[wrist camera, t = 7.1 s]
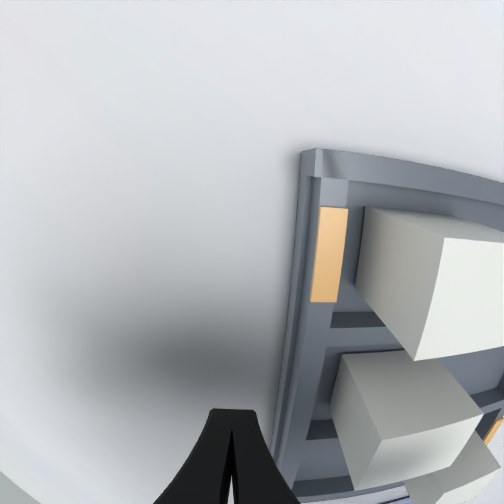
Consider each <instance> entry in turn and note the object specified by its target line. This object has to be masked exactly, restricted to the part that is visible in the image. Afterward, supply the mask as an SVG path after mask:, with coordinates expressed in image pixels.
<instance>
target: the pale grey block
mask: <svg viewBox="0 0 504 504" xmlns="http://www.w3.org/2000/svg"><path fill="white" fill-rule="evenodd" d="M500 468H501V466H500V465H499V463H498V462H497V461H496V459H495V458H494V456H493V455H492V453H491V452H490V450H489V449H488V448H487V446H486V445H485V443H484V442H483V441H482V439H481V438H480V436H479V435H478V434H477V432H476V431H475V430H474V432H473V433H472V435H471V436H470V438H469V440H468V441H467V443H466V444H465V446H464V447H463V449H462V450H461V452H460V453H459V455H458V456H457V457H456V459H455V460H454V462H453V463H452V464H451V466H449V467H446V468H443V469H440V470H437V471H434V472H431V473H428V474H425V475H421V476H418V477H415V478H411V479H407V480H403V483H404V485H405V487H406V490H407V492H408V494H409V497H410V499H411V501H412V504H462V503H464V502H466V501H468V500H470V499H472V498H474V497H476V496H477V495H478V494H479V493H480V492H481V491H482V490H483V488H484V487H485V486H486V485H487V484H488V483H489V482H490V480H491V479H492V478H493V477H494V476H495V475H496V473H497V472H498V471H499V470H500Z"/></svg>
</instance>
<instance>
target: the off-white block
mask: <svg viewBox="0 0 504 504" xmlns="http://www.w3.org/2000/svg"><path fill="white" fill-rule="evenodd" d="M329 410H330V413H331V416H332V419H333V422H334V425H335V429H336V432H337V435H338V438H339V441H340V444H341V448H342V451H343V454H344V457H345V461H346V464H347V467H348V470H349V474H350V477H351V480H352V483H353V487H354V490H355V491H357V490H363V489H368V488H373V487H378V486H383V485H387V484H391V483H396V482H400V481H403V480H407V479H411V478H415V477H418V476H421V475H425V474H428V473H431V472H434V471H437V470H440V469H443V468H446V467H449V466H451V464H452V463H453V462H454V460H455V459H456V457H457V456H458V455H459V453H460V452H461V450H462V449H463V447H464V446H465V444H466V443H467V441H468V440H469V438H470V436H471V435H472V433H473V432H474V430H475V428H476V427H477V425H478V423H479V422H480V420H481V418H482V416H483V415H484V413H483V412H482V410H481V409H480V408H479V407H478V406H477V404H476V403H475V402H474V401H473V399H472V398H471V397H470V396H469V395H468V393H467V392H466V391H465V390H464V389H463V388H462V386H461V385H460V384H459V383H458V382H457V380H456V379H455V378H454V377H453V376H452V375H451V373H450V372H449V371H448V370H447V369H446V368H445V367H444V365H443V364H442V363H441V362H440V361H439V360H438V359H437V358H433V359H425V360H417V361H414V360H413V359H412V358H411V357H410V355H409V354H408V353H407V351H406V350H401V351H389V352H375V353H358V354H342V355H341V360H340V364H339V369H338V373H337V377H336V381H335V385H334V389H333V393H332V397H331V401H330V404H329Z"/></svg>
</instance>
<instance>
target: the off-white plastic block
mask: <svg viewBox="0 0 504 504" xmlns="http://www.w3.org/2000/svg"><path fill="white" fill-rule="evenodd" d="M355 289H356V290H357V292H358V293H359V294H360V295H361V296H362V298H363V299H364V300H365V301H366V302H367V303H368V305H369V306H370V307H371V308H372V309H373V311H374V312H375V313H376V314H377V316H378V317H379V318H380V319H381V320H382V322H383V323H384V324H385V325H386V327H387V328H388V329H389V330H390V331H391V333H392V334H393V335H394V336H395V338H396V339H397V340H398V341H399V343H400V344H401V345H402V346H403V348H404V349H405V350H406V351H407V353H408V354H409V355H410V357H411V358H412V359H413V360H414V361H417V360H425V359H433V358H440V357H446V356H453V355H459V354H465V353H471V352H476V351H481V350H486V349H491V348H496V347H501V346H504V232H501V231H498V230H496V229H493V228H490V227H487V226H484V225H481V224H478V223H475V222H472V221H469V220H465V219H462V218H459V217H453V216H446V215H438V214H430V213H422V212H414V211H405V210H396V209H386V208H376V207H366V206H365V215H364V224H363V233H362V241H361V248H360V256H359V263H358V269H357V276H356V282H355Z"/></svg>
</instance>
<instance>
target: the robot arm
mask: <svg viewBox="0 0 504 504" xmlns="http://www.w3.org/2000/svg"><path fill="white" fill-rule="evenodd" d="M231 475H232V484H233V496H234V504H301V503H300V502H299V501H298V499H297V498H296V497H295V495H294V494H293V492H292V491H291V489H290V488H289V486H288V485H287V483H286V481H285V480H284V478H283V476H282V475H281V473H280V471H279V470H278V468H277V466H276V464H275V462H274V460H273V458H272V456H271V454H270V452H269V450H268V448H267V445H266V443H265V441H264V438H263V435H262V433H261V430H260V427H259V424H258V420H257V415H256V412H255V411H253V410H238V409H217V408H213V409H212V410H210V412H209V416H208V419H207V421H206V424H205V426H204V428H203V431H202V433H201V435H200V437H199V439H198V441H197V443H196V444H195V446H194V448H193V450H192V451H191V453H190V455H189V457H188V458H187V460H186V461H185V463H184V464H183V466H182V467H181V469H180V470H179V472H178V473H177V475H176V476H175V477H174V479H173V480H172V482H171V483H170V484H169V485H168V487H167V488H166V489H165V490H164V492H163V493H162V494H161V495H160V496H159V497H158V499H157V500H156V501H155V502H154V503H153V504H227V503H228V497H229V489H230V482H231ZM387 504H412V501H411V499H410V497H409V498H406V499H402V500H398V501H395V502H391V503H387Z"/></svg>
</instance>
